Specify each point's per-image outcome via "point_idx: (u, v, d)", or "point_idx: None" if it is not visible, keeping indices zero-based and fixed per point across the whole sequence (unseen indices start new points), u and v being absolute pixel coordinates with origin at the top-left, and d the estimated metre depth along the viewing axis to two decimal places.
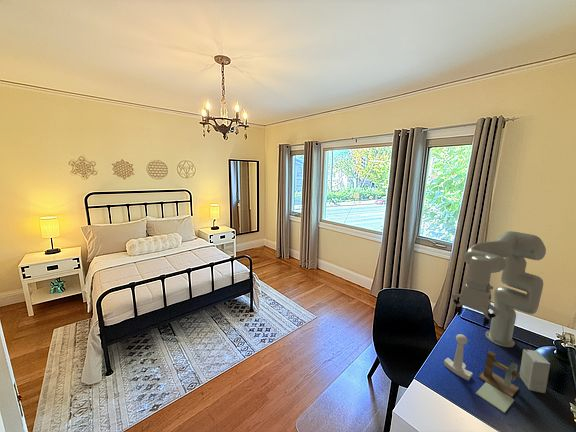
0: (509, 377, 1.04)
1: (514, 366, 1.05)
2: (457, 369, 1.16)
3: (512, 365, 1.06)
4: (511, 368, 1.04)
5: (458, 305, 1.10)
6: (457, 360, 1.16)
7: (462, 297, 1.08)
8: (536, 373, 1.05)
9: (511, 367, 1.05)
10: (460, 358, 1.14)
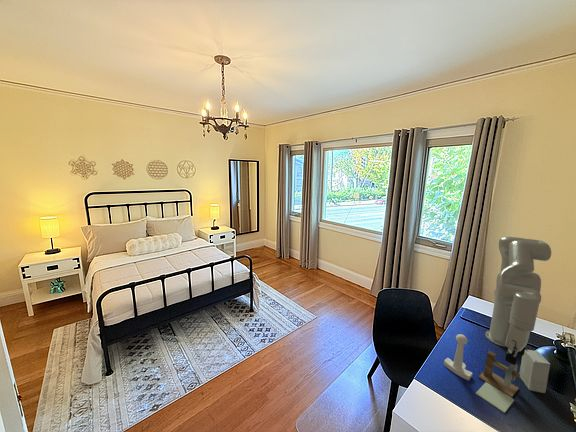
0: (509, 377, 1.04)
1: (514, 366, 1.05)
2: (457, 369, 1.16)
3: (512, 365, 1.06)
4: (511, 368, 1.04)
5: (515, 354, 0.99)
6: (457, 360, 1.16)
7: (521, 344, 0.98)
8: (536, 373, 1.05)
9: (511, 367, 1.05)
10: (460, 358, 1.14)
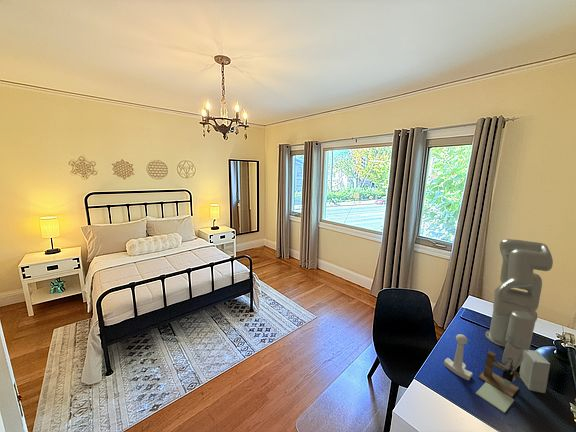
0: None
1: None
2: (457, 369, 1.16)
3: (512, 365, 1.06)
4: (511, 368, 1.04)
5: (512, 372, 1.02)
6: (457, 360, 1.16)
7: (517, 362, 1.00)
8: (536, 373, 1.05)
9: None
10: (460, 358, 1.14)
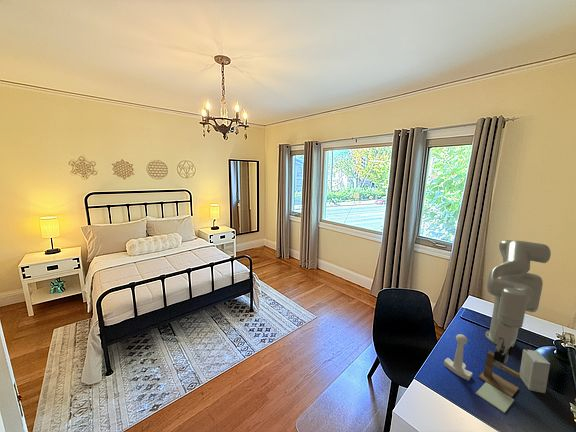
0: None
1: None
2: (457, 369, 1.16)
3: (504, 346, 0.99)
4: None
5: (504, 353, 0.95)
6: (457, 360, 1.16)
7: (509, 342, 0.94)
8: (536, 373, 1.05)
9: (503, 348, 0.99)
10: (460, 358, 1.14)
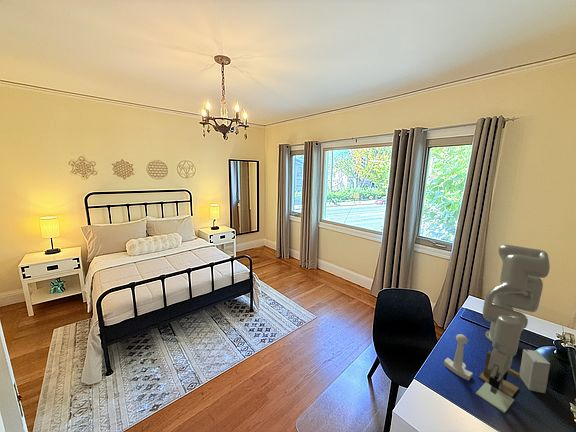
0: None
1: None
2: (457, 369, 1.16)
3: None
4: None
5: (498, 379, 0.98)
6: (457, 360, 1.16)
7: (504, 368, 0.96)
8: (536, 373, 1.05)
9: None
10: (460, 358, 1.14)
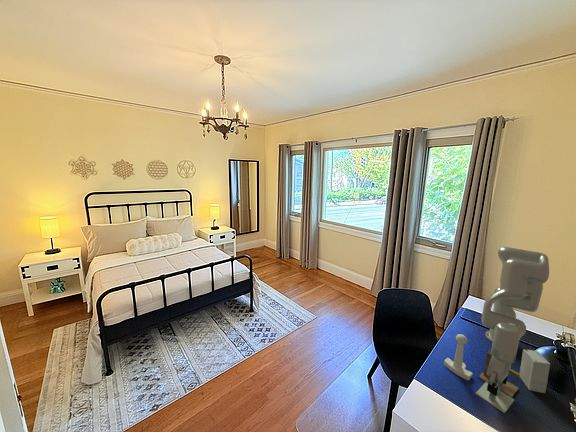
0: None
1: None
2: (457, 369, 1.16)
3: None
4: None
5: (496, 386, 0.98)
6: (457, 360, 1.16)
7: (502, 375, 0.97)
8: (536, 373, 1.05)
9: None
10: (460, 358, 1.14)
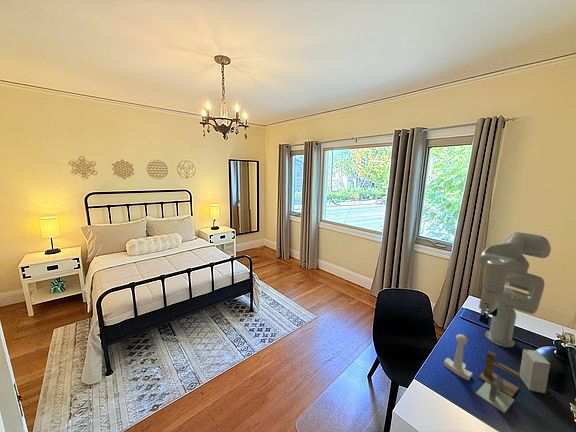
0: (494, 392, 1.01)
1: (500, 380, 1.03)
2: (457, 369, 1.16)
3: (498, 379, 1.03)
4: (496, 382, 1.02)
5: (488, 315, 1.10)
6: (457, 360, 1.16)
7: (493, 306, 1.09)
8: (536, 373, 1.05)
9: (497, 381, 1.02)
10: (460, 358, 1.14)
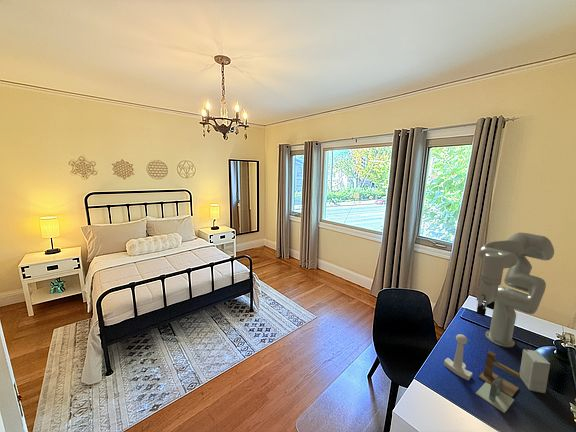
0: (494, 392, 1.01)
1: (500, 380, 1.03)
2: (457, 369, 1.16)
3: (498, 379, 1.03)
4: (496, 382, 1.02)
5: (485, 307, 1.13)
6: (457, 360, 1.16)
7: (490, 297, 1.11)
8: (536, 373, 1.05)
9: (497, 381, 1.02)
10: (460, 358, 1.14)
